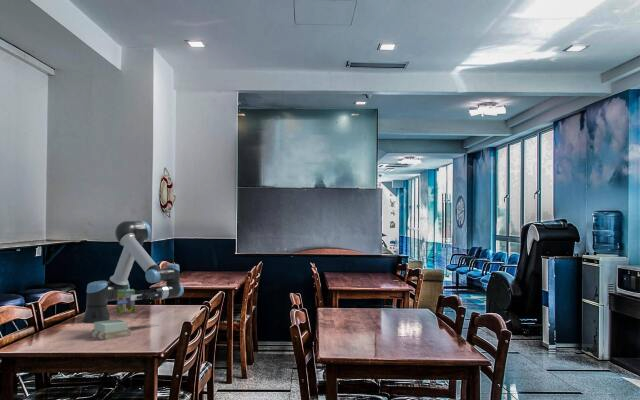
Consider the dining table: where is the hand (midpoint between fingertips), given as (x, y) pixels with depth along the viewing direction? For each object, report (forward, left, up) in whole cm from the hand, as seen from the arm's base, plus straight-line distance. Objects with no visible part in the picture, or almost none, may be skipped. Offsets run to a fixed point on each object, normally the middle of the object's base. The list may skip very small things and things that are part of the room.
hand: (124, 296), depth 286 cm
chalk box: (0, +1, -8) cm, 8 cm away
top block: (+1, -8, -16) cm, 18 cm away
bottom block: (0, -7, -20) cm, 22 cm away
